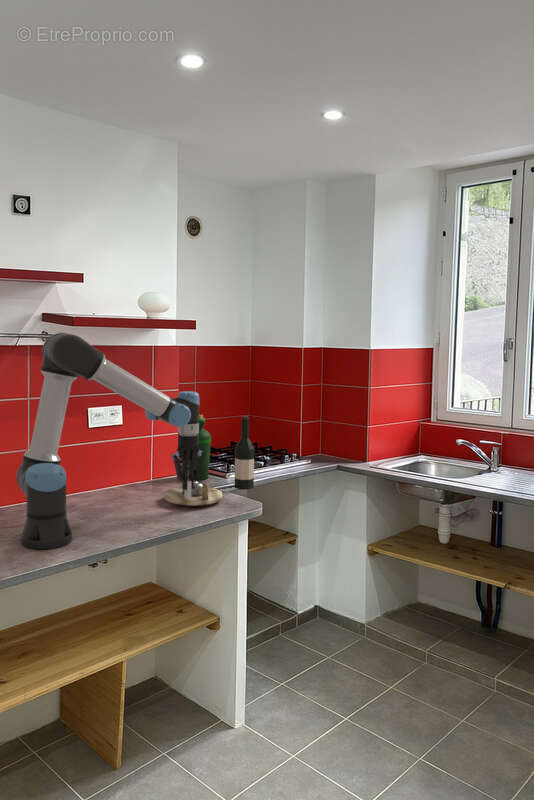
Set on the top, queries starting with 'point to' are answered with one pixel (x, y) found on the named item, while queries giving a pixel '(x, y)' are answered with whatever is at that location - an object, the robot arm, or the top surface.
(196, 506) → the turntable base
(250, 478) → the wine bottle
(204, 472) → the bottle
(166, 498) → the turntable
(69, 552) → the top surface
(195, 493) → the cover
